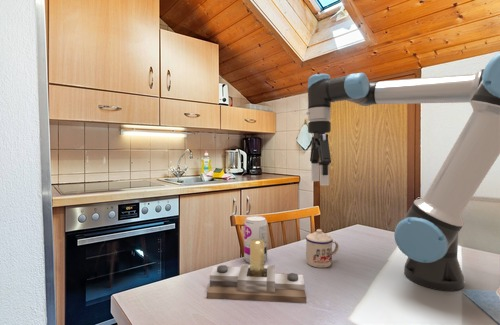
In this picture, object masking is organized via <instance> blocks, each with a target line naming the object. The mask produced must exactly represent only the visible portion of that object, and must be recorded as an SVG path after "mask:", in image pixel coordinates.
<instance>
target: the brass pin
mask: <svg viewBox="0 0 500 325" xmlns="http://www.w3.org/2000/svg"><path fill="white" fill-rule="evenodd" d="M249 265H250V277H264V265H265V262H264V240H262V239H252V240H250V263H249Z"/></svg>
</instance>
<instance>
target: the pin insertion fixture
mask: <svg viewBox="0 0 500 325" xmlns="http://www.w3.org/2000/svg"><path fill="white" fill-rule="evenodd" d="M305 285H306V284H305V280H304V275H303V274H301V273H294V272H290V273H285V272H284V273H282V272H281V273H280V272H276V266H275V265H271V264H270V265H268V264H266V265H265V264H264V277H250V264H246V263H245V264H244V263H243V264H241V266H228V265H224V264H222V265H221V264H220V265H214V266H213V268H212V270H211V272H210V273H209V286H208V288H207V291H206V299H220V300H221V299H222V300H224V299H225V300H241V301H260V302H263V301H264V302H284V303H299V304H300V303H302V304H303V303H304V304H307V293H306V289H305V288H306V286H305Z"/></svg>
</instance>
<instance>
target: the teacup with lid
mask: <svg viewBox="0 0 500 325" xmlns="http://www.w3.org/2000/svg"><path fill="white" fill-rule="evenodd" d="M305 240H306V241H305V244H306V245H305V248H306V250H305V251H306V252H305V258H306V259H305V260H306V264H308V265H309V266H312V267H314V268H321V269H323V268H329V267H331V266H332V264H333V263H332V262H333V261H332V260H333V259H332V258H333V255H336V254H337V253H338V251H339V247H340V246H339V243H338V242H337V241H335V240H334V239H333V237H332V236H331V235H329V234H326V233H325V232H323V230H322V229H320V228H318V229H316V231H314V232H312V233H308V234H307V235H306V236H305ZM333 244H335V247H334V249H333Z"/></svg>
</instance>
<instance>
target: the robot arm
mask: <svg viewBox="0 0 500 325" xmlns="http://www.w3.org/2000/svg"><path fill="white" fill-rule="evenodd" d="M307 80H308V81H307V90H306V91H307V104H308V105H307V111H306V113H305V114H306V115H307V118H308V119H307V120H308V121H309V122H308V123H307V129H308V130H307V132H308V133H309V134H313V136H311V148H310V156H309V161H310V163H311V164H310V166H311V169H310V170H311V182H319V186H324V187H325V186H330V164H331V163H332V158H331V151H330V144H329V133H331V128H332V127H331V125H332V123H331V122H332V121H330V120H331V119H332V116H331V115H332V114H331V113H332V111H331V103H335V102H342V101H347V102H350V103H354V104H357V105H359V106H364V107H365V106H366V107H370V106H372V105H398V104H399V105H400V104H402V105H404V104H406V105H407V104H445V103H446V104H450V103H451V104H454V103H455V104H456V103H457V104H459V103H469V104H470V105H471V108H472V113H471V115H470V116H469V118H468V119H467V122H466V123H465V125H464V127H463V129H462V130H461V132H460V134H459V135H458V137H457V139H456V141H455V143H454V144H453V146H452V148H451V149H450V151H449V153H448V155H447V156H446V158H445V160H444V162H443V163H442V165H441V166H440V169H439V170H438V172H437V174H436V175H435V178H434V179H433V181H432V183H431V184H430V186H429V188H428V190H427V192H426V193H425V195H424V196H423V197H422V198H418V199H415V200H414V201H413V203H412V205H411V206H410V208H409V209H408V211H407V213H406V214H405V217H404V218H403V219H402V220H400V221H399V222H398V223H397V224H396V227H395V229H394V233H393V234H394V241H395V244H396V246H397V248H398V249H399V250H400V252H402V253H403V255H405V256H406V257H407V259H406V261H405V264H404V266H403V274H404V276H405V277H406V278H407V279H408V280H410V281H412V282H414V283H416V284H417V285H420V286H423V287H425V288H428V289H429V288H430V289H434V290H437V291H445V292H446V291H447V292H449V291H450V292H451V291H452V292H455V291H461V290H462V289H463V288H464V287H465V278H464V273H463V272H462V269H461V265H460V262H459V259H458V251H459V250H458V248H459V244H458V243H459V233H460V231H461V230H462V228H463V226H464V221H463V219H462V218H463V217H462V213H463V212H464V210H465V209H466V207H467V206H468V204H469V203H470V202H471V200H472V198H473V196H474V195H475V194H476V192H477V190H478V189H479V187H480V185H481V184H482V183H483V181H484V179H485V178H486V176H487V175H488V173H489V172H490V170H491V168H492V166H493V165H494V164H495V162H496V160H497V159H498V158H499V156H500V52H498V53H497V54H495V55H494V56H493V57H492V58H491V59H490V60H489V61H488V63H487V64H486V65H485V67H484V69H479V70H478V71H477V72H475V73H470V74H468V73H467V74H457V75H444V76H429V77H417V78H406V79H405V78H404V79H394V80H393V79H391V80H381V81H370V80H369V78H368V77H367V74H366V73H365V72H358V73H354V72H353V73H351V74H347V75H343V76H338V77H334V78H331V75H330V74H327V73H316V74H312V75H311V76H309V77H308V79H307Z"/></svg>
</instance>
